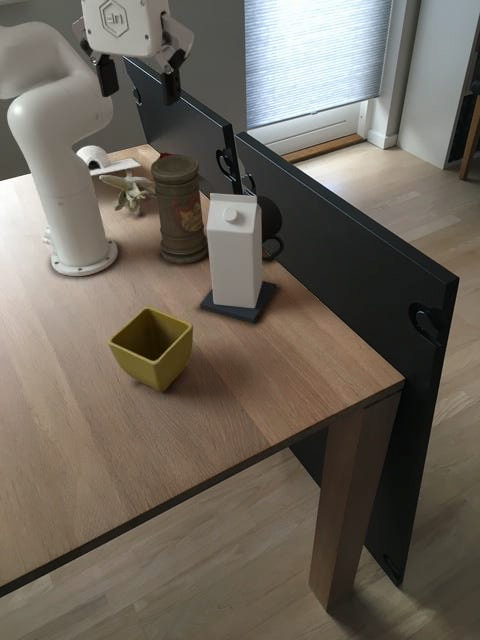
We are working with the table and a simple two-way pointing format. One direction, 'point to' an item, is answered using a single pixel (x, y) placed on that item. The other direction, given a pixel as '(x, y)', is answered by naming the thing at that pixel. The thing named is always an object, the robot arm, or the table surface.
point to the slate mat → (241, 312)
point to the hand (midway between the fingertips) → (141, 98)
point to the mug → (270, 223)
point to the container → (179, 209)
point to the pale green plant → (130, 190)
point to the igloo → (103, 161)
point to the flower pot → (153, 347)
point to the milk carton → (235, 249)
